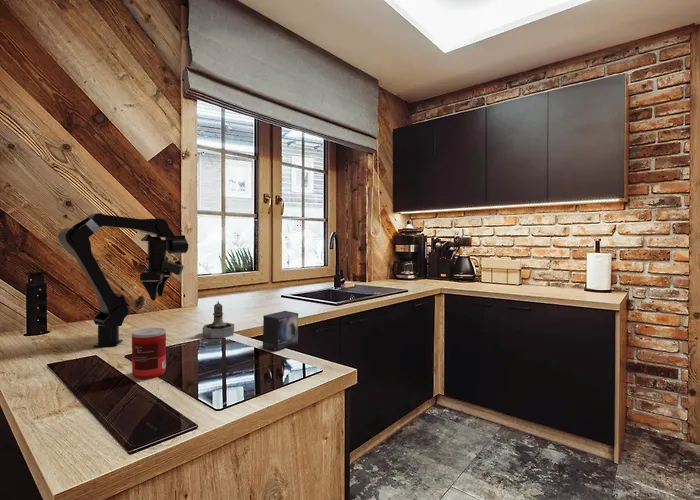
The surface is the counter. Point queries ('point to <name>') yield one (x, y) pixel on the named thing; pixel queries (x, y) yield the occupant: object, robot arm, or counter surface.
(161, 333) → the canned food
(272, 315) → the small box
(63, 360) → the counter surface
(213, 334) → the grey polygonal dish
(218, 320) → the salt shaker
